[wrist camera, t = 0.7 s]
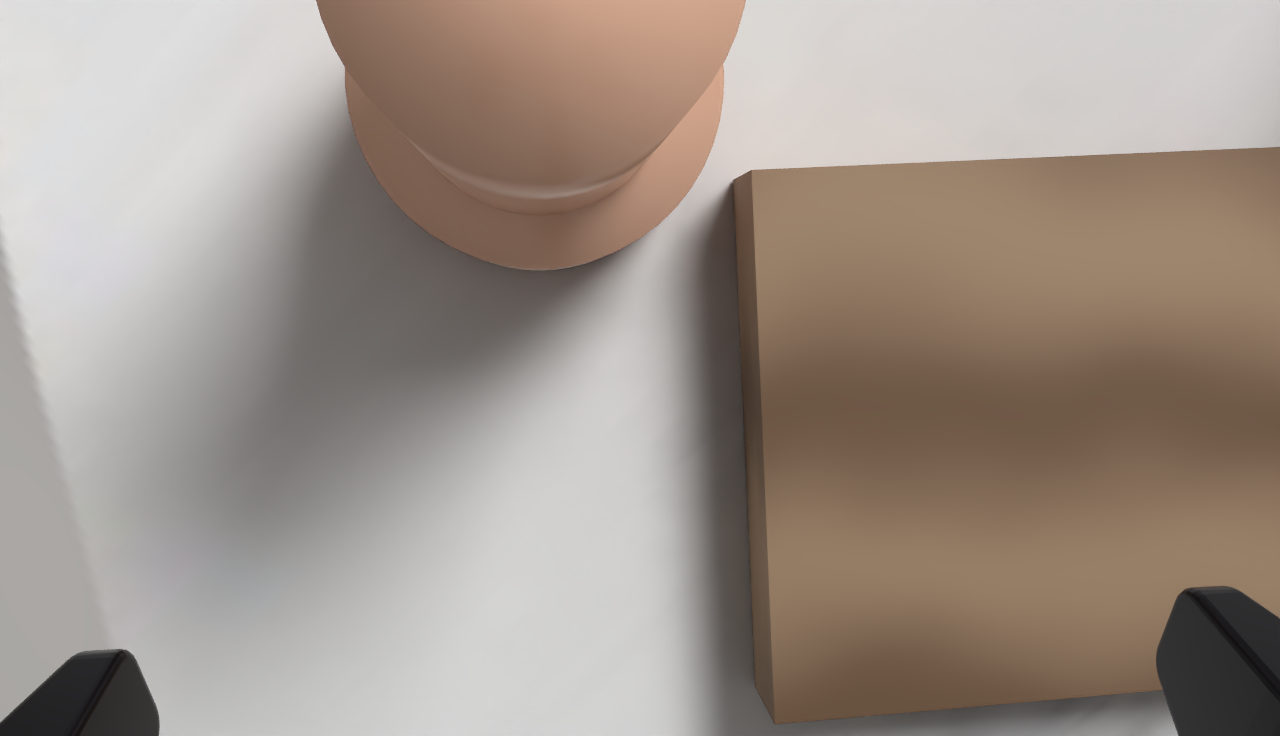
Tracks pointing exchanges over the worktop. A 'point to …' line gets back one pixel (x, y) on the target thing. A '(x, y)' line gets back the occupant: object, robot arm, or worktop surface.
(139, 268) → the worktop surface
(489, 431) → the worktop surface
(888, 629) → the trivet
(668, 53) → the peach chess pawn
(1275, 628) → the robot arm
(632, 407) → the worktop surface
